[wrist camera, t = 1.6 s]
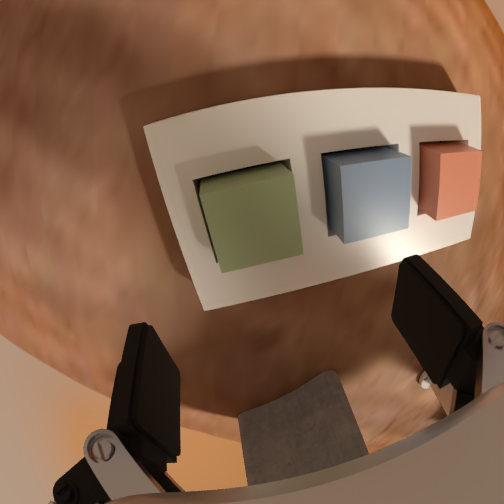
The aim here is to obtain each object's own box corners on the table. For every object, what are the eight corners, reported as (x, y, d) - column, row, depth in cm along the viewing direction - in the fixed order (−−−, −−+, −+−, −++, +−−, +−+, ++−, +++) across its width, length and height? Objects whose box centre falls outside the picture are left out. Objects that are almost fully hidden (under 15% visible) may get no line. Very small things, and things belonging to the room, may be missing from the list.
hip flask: (330, 366, 33) (384, 508, 16) (342, 377, 35) (392, 504, 18) (233, 415, 36) (252, 541, 19) (250, 422, 38) (271, 539, 21)
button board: (457, 92, 18) (480, 95, 15) (452, 225, 25) (469, 238, 22) (153, 122, 17) (143, 126, 14) (204, 287, 24) (204, 311, 22)
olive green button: (280, 162, 18) (293, 174, 15) (290, 232, 20) (303, 254, 18) (201, 179, 18) (199, 195, 15) (219, 248, 20) (221, 273, 18)
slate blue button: (385, 146, 18) (411, 156, 15) (386, 210, 21) (408, 228, 18) (321, 155, 18) (340, 166, 15) (327, 224, 21) (344, 244, 18)
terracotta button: (457, 141, 18) (482, 150, 15) (454, 196, 21) (476, 210, 18) (414, 143, 18) (440, 153, 15) (413, 205, 21) (436, 221, 18)
